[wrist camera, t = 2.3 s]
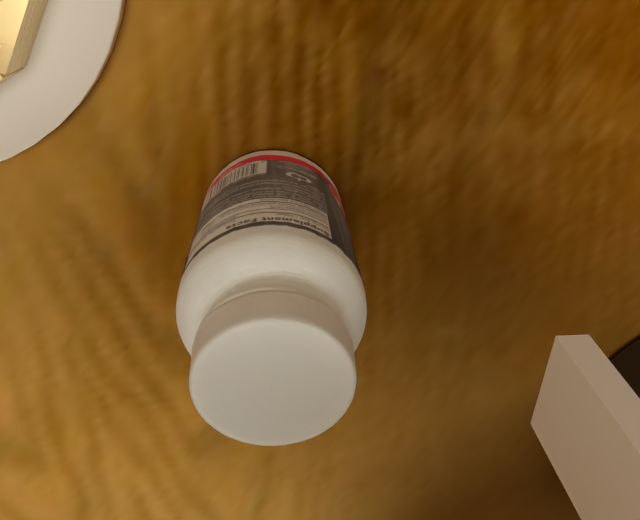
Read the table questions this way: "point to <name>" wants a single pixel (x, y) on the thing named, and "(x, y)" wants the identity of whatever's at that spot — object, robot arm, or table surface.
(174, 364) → the table surface
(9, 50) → the collar
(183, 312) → the pill bottle
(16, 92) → the coaster
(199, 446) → the table surface
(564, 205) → the table surface
